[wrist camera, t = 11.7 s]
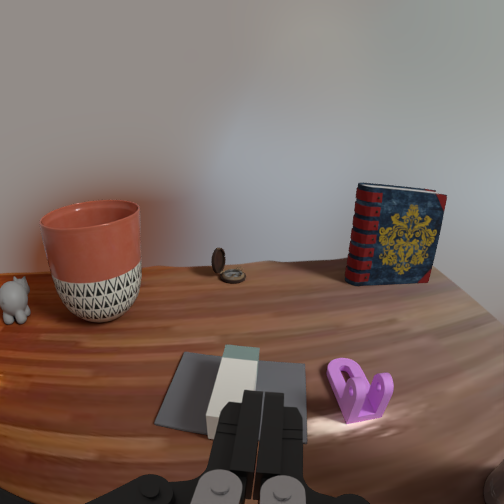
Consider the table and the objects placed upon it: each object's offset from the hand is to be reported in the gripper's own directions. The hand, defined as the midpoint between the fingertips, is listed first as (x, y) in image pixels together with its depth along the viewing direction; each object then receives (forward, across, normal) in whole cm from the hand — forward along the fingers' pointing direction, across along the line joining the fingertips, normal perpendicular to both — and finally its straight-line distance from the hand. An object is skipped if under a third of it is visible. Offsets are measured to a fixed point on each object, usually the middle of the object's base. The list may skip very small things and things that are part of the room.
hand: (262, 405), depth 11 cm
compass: (+63, +11, +26) cm, 69 cm away
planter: (+40, +34, +26) cm, 59 cm away
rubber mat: (+24, +4, +26) cm, 36 cm away
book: (+67, -30, +26) cm, 78 cm away
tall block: (+15, +4, +23) cm, 28 cm away
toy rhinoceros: (+34, +54, +26) cm, 69 cm away
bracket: (+26, -13, +26) cm, 40 cm away
